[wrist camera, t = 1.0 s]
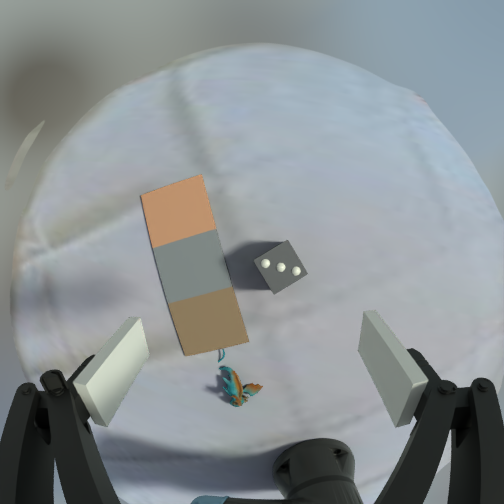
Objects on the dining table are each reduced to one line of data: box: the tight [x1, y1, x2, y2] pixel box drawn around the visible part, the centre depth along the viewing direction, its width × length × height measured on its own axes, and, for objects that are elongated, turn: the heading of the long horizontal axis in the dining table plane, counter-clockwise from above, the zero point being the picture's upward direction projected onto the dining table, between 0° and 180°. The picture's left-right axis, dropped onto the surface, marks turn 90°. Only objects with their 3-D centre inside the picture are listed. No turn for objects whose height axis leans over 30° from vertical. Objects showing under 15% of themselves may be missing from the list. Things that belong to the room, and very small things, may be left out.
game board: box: [141, 174, 249, 356], centre depth 39 cm, size 26×10×1 cm, turn 16°
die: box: [253, 240, 308, 294], centre depth 37 cm, size 5×5×5 cm
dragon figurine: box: [218, 350, 263, 407], centre depth 38 cm, size 7×7×8 cm
